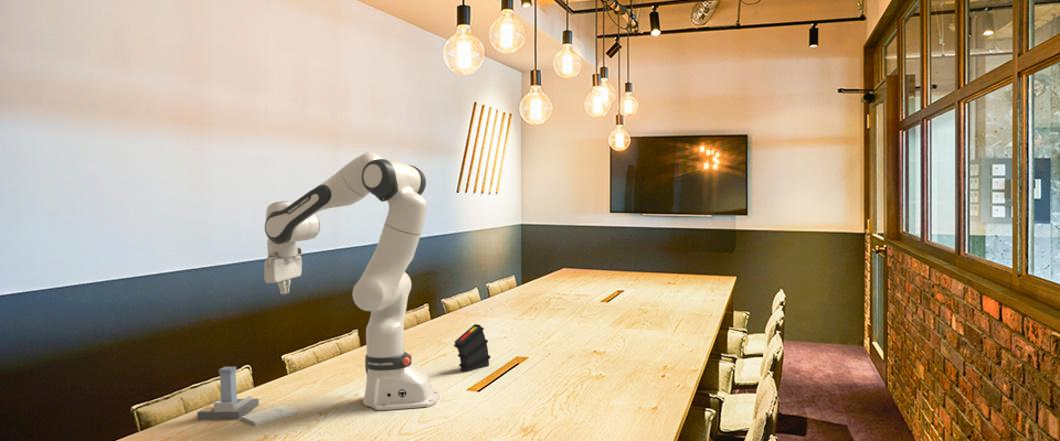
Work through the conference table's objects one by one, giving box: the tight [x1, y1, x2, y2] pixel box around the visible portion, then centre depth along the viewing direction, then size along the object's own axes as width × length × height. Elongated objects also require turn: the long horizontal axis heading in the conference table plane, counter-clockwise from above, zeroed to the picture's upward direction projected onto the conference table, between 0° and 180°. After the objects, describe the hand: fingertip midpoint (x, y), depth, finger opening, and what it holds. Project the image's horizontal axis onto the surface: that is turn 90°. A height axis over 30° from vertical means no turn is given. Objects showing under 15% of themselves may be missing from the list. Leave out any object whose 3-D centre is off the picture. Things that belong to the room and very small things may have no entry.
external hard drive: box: [240, 405, 298, 427], centre depth 189 cm, size 2×8×12 cm
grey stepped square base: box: [196, 395, 260, 420], centre depth 193 cm, size 12×12×4 cm
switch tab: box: [218, 366, 238, 405], centre depth 190 cm, size 3×3×11 cm
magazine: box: [453, 323, 491, 373], centre depth 234 cm, size 4×13×15 cm, turn 136°
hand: (284, 293), depth 219 cm, fingers closed
